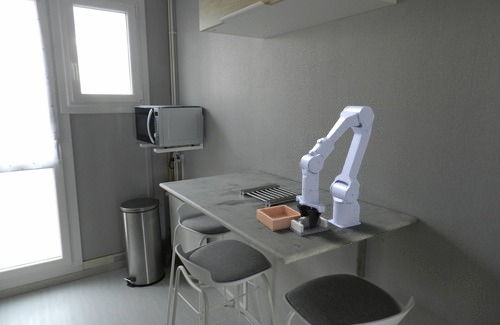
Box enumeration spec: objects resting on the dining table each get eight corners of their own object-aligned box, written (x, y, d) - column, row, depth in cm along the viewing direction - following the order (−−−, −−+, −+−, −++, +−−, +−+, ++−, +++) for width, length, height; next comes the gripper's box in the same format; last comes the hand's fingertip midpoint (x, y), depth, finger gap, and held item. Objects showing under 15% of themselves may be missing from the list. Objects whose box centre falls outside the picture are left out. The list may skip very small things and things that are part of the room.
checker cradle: (316, 223, 125) (317, 214, 124) (328, 229, 119) (329, 220, 118) (289, 229, 120) (289, 219, 119) (300, 236, 114) (300, 226, 113)
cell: (314, 223, 122) (314, 213, 122) (320, 227, 119) (321, 216, 118) (296, 227, 119) (296, 216, 118) (302, 230, 115) (302, 220, 115)
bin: (284, 214, 135) (284, 204, 134) (302, 224, 123) (302, 214, 123) (256, 219, 129) (256, 209, 128) (272, 231, 118) (272, 220, 117)
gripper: (289, 185, 121) (288, 220, 124) (313, 195, 108) (312, 234, 111) (305, 183, 124) (304, 217, 127) (330, 192, 111) (329, 230, 114)
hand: (309, 225), depth 119 cm, fingers closed on cell, 4 cm apart
